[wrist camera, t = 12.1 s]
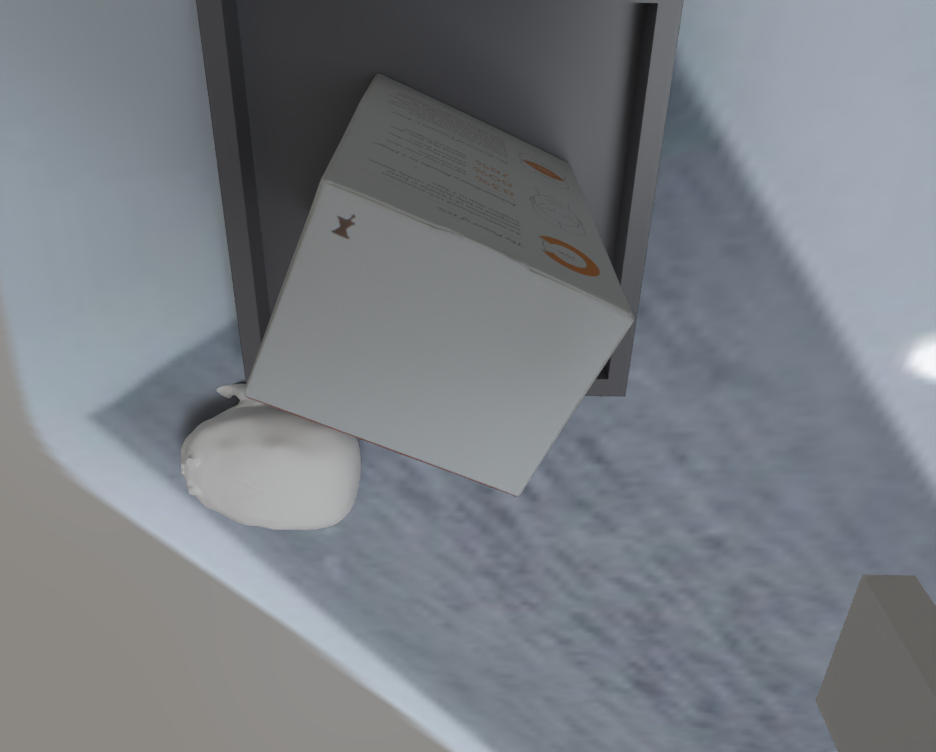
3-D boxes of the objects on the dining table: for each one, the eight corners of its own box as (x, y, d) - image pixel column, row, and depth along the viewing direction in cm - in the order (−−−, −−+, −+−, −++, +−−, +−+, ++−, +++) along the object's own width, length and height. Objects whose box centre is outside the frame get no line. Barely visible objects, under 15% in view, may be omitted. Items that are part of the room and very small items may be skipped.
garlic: (194, 490, 39) (169, 543, 36) (191, 370, 36) (163, 417, 32) (359, 508, 40) (349, 562, 36) (371, 393, 36) (361, 440, 33)
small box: (315, 223, 31) (232, 398, 20) (375, 67, 28) (318, 169, 17) (501, 302, 33) (521, 505, 22) (576, 163, 30) (642, 313, 19)
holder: (212, -43, 27) (191, -39, 25) (669, -29, 27) (687, -24, 25) (260, 359, 35) (246, 388, 33) (615, 366, 35) (625, 396, 33)
